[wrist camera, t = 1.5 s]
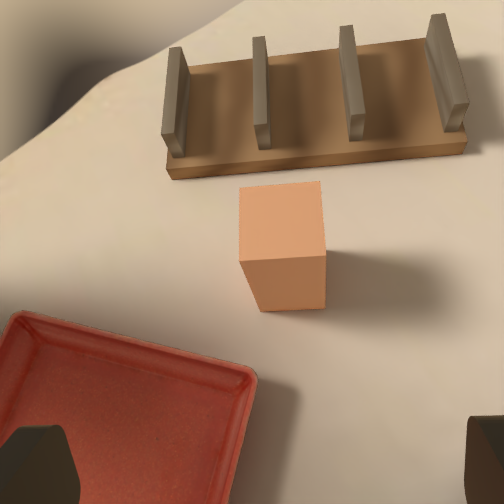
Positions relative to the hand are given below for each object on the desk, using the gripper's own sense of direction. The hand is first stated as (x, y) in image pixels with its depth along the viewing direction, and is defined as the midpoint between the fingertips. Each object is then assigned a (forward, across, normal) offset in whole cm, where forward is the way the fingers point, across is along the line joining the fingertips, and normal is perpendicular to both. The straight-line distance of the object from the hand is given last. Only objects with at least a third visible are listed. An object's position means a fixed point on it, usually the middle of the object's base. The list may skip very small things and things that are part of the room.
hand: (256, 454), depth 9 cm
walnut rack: (+33, -2, -4) cm, 34 cm away
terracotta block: (+23, 0, +6) cm, 24 cm away
